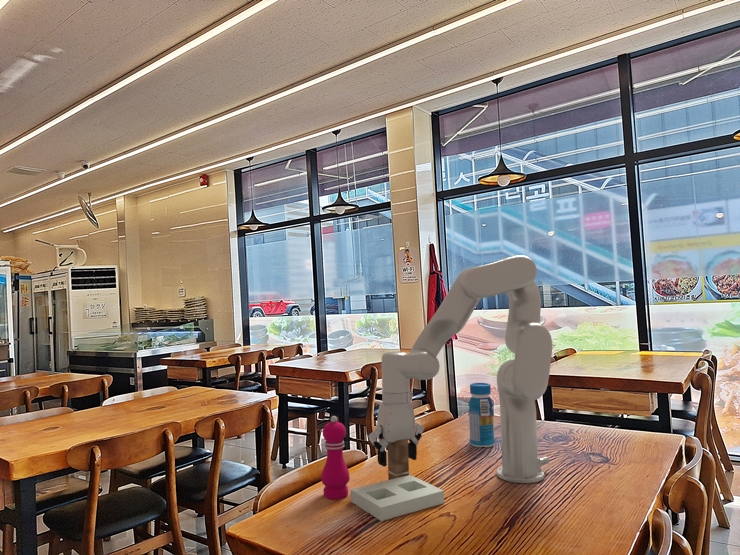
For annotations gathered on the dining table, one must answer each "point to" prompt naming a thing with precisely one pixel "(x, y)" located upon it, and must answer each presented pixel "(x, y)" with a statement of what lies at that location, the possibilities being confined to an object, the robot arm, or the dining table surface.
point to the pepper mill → (335, 461)
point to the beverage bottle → (481, 415)
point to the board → (396, 497)
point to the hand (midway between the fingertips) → (397, 461)
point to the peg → (398, 459)
